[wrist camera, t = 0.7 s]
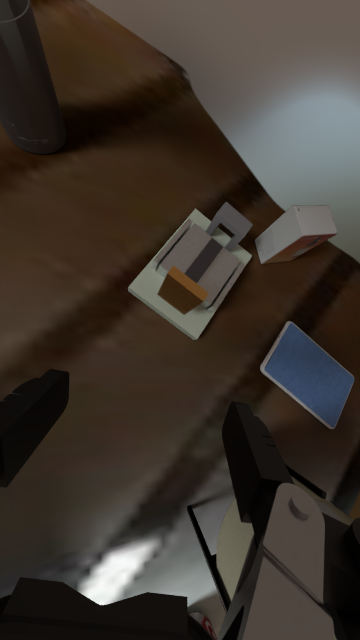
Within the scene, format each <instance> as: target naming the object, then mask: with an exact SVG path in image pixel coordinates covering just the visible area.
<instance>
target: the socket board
mask: <svg viewBox="0 0 360 640" xmlns="http://www.w3.org/2000/svg"><path fill="white" fill-rule="evenodd" d="M189 218H190V219H191V220H192V221H193V222H192V224H191V226H190V228H191V227H192V225H193V224H194V223H196V224H197V225H198V226H199V227H200V228H202V229H203V230H204V231H205V232H207V233H208V234H209V235H210V236H211V237H213V238H214V239H215V240H216V241H217V242H219V243H220V244H221V245H222V246H223V247H225V248H226V249H227V250H228V251H230V252H231V253H232V254H233V255H234V256H236V257H237V258H238V259H239V260H240V262H239V263H238V265H239V264H240V263H241V262H243V263H244V264H245V266H246V264H247V263H248V261H249V260H250V258H251V257H252V255H250V254H249V253H248V252H247V251H246V250H244V249H243V248H242V247H241V246H240V245H238V243H239V242H240V241H241V240H242V239H243V238H244V237H245V235H246V234H247V233H248V231H249V230H250V228H251V227H252V225H253V224H252V223H251V222H249V221H248V220H247V219H246V218H245V217H244V216H242V215H241V214H240V213H239V212H238V211H237V210H235V209H234V208H233V207H232V206H231V205H230V204H228V203H227V202H225V204H224V205H223V206H222V207H221V209H220V210H219V211H218V212H217V214H216V215H215V217H214V219H213V220H212V222H211V221H210V220H209V219H207V218H206V217H205V216H204V215H203V214H201V213H200V212H199V211H198V210H197V209H195V210H194V211H193V212H192V213H191V215H190V216H189V217H188V218H187V219H186V220H185V222H186V221H187V220H188V219H189ZM185 222H184V223H185ZM184 223H183V224H182V225H181V226H180V227H179V229H180V228H181V227H182V226H183V225H184ZM220 223H222V224H223V225H224V226H225V227H226V228H227V229H229V230H230V231H231V232H232V233H233V234H235V235H234V236H233V237H232V238H230V237H229V236H228V235H227V234H225V233H224V232H223V231H222V230H221V229H219V228H218V225H219V224H220ZM190 228H189V229H190ZM179 229H178V230H179ZM178 230H177V231H176V232H175V233H174V234H173V236H174V235H175V234H176V233H177V232H178ZM173 236H172V237H173ZM172 237H171V238H170V239H169V240H168V241H167V243H168V242H169V241H170V240H171V239H172ZM167 243H166V244H165V245H164V246H163V247H162V248H161V250H162V249H163V248H164V247H165V246H166V245H167ZM161 250H160V251H159V252H158V253H157V254H156V256H157V255H158V254H159V253H160V252H161ZM156 256H155V257H156ZM155 257H154V258H153V259H152V260H151V261H150V263H149V264H148V265H147V266H146V267H145V268H144V270H143V271H142V272H141V273H140V274H139V275H138V277H137V278H136V279H135V280H134V281H133V282H132V284H131V285H130V286H129V287H128V291H129V292H130V293H132V294H133V295H134V296H136V297H137V298H138V299H140V300H141V301H142V302H144V303H145V304H146V305H148V306H149V307H150V308H152V309H153V310H154V311H156V312H157V313H158V314H160V315H161V316H162V317H164V318H165V319H166V320H168V321H169V322H170V323H172V324H173V325H174V326H176V327H177V328H178V329H180V330H181V331H182V332H184V333H185V334H186V335H188V336H189V337H190V338H192V339H193V340H196V339H198V337H199V336H200V334H201V333H202V331H203V330H204V328H205V327H206V325H207V324H208V322H209V321H210V319H211V318H212V316H213V315H214V313H215V312H216V310H217V309H218V308H217V309H216V310H214V311H212V312H210V313H208V312H207V311H206V309H207V307H206V308H204V309H203V308H202V307H201V306H199V305H198V306H196V307H195V308H194V309H192V310H191V311H189V312H188V313H187V314H185V315H183V314H182V313H181V312H179V311H178V310H177V309H175V308H174V307H173V306H171V305H170V304H169V303H168V302H166V301H165V300H164V299H162V298H161V297H160V296H158V295H157V294H158V292H159V289H160V287H161V285H162V283H163V281H164V279H165V278H163V277H162V276H161V275H159V274H158V273H157V271H158V268H159V267H158V268H157V269H156V271H154V270H153V269H152V268H151V267H152V263H153V260H154V259H155ZM238 265H237V266H238ZM237 266H236V267H237ZM243 269H244V268H243ZM242 271H243V270H242ZM242 271H241V272H242ZM240 274H241V273H240ZM240 274H239V275H240ZM238 277H239V276H238ZM238 277H237V278H238ZM236 280H237V279H236ZM236 280H235V281H236ZM234 283H235V282H234ZM234 283H233V284H234ZM232 286H233V285H232ZM232 286H231V287H232ZM230 289H231V288H230ZM230 289H229V290H230ZM228 292H229V291H228ZM228 292H227V293H228ZM226 295H227V294H226ZM226 295H225V296H226ZM224 298H225V297H224ZM224 298H223V299H224ZM222 301H223V300H222ZM220 304H221V303H220ZM218 307H219V306H218Z"/></svg>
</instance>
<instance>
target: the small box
mask: <svg viewBox="0 0 360 640" xmlns="http://www.w3.org/2000/svg"><path fill="white" fill-rule="evenodd" d="M336 234H337V229H336V226H335V223H334V220H333V217H332V214H331V211H330V207H329V205H317V206H298V205H293V206H292V207H291V208H290V209H288V210H287V211H286V212H285V213H284V214H283V215H282V216H281V217H280V218H278V219H277V220H276V221H275V222H274V223H273V224H272V225H271V226H270V227H268V228H267V229H266V230H265V231H264V232H263V233H262V234H261V235H260V236H259V237H257V238H256V239H255V244H256V248H257V251H258V255H259V258H260V262H261V264H266V263H275V262H285V261H291V260H293V259H294V258H296V257H298V256H300V255H301V254H303V253H305V252H307V251H308V250H310V249H312V248H314V247H315V246H317V245H319V244H321V243H322V242H324V241H326V240H328V239H329V238H331V237H333V236H335V235H336Z"/></svg>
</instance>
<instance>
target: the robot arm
mask: <svg viewBox="0 0 360 640" xmlns="http://www.w3.org/2000/svg"><path fill="white" fill-rule="evenodd" d="M0 122H1V124H2V126H3V128H4V130H5V131H6V133H7V135H8V137H9V138H10V140H11V141H12V142H13V143H14V144H16V145H17V146H18V147H20V148H22V149H24V150H26V151H29V152H32V153H37V154H47V153H52V152H55V151H57V150H59V149H60V148H61V147H62V146H63V145H64V144H65V142H66V138H67V133H66V129H65V125H64V121H63V118H62V114H61V111H60V107H59V103H58V100H57V96H56V92H55V89H54V85H53V82H52V78H51V75H50V71H49V67H48V64H47V60H46V57H45V53H44V49H43V46H42V42H41V39H40V35H39V32H38V28H37V24H36V21H35V17H34V14H33V10H32V7H31V3H30V0H0ZM68 399H69V373H68V372H65V371H60V370H54V369H50V370H48V371H47V372H46V373H45V374H44V375H43V376H42V377H40V378H39V379H38V378H34V379H32V380H29V381H27V382H25V383H23V384H21V385H20V386H19V387H18V388H16V389H15V390H14V391H13V392H11V394H9V395H8V396H6V397H5V398H4V399H3V400H2V402H0V487H5V488H7V486H8V485H9V484H10V482H11V481H12V480H13V478H14V477H15V476H16V474H17V473H18V472H19V470H20V469H21V468H22V466H23V465H24V464H25V462H26V461H27V460H28V458H29V457H30V456H31V454H32V453H33V452H34V450H35V449H36V448H37V446H38V445H39V444H40V442H41V441H42V440H43V438H44V437H45V436H46V434H47V433H48V432H49V430H50V429H51V428H52V426H53V425H54V424H55V422H56V421H57V420H58V418H59V417H60V416H61V414H62V413H63V412H64V410H65V408H66V406H67V403H68ZM222 439H223V443H224V448H225V452H226V457H227V461H228V466H229V470H230V475H231V479H232V484H233V489H234V493H235V498H236V502H237V507H238V511H239V516H240V520H241V522H243V523H251V524H252V527H253V531H254V535H253V537H252V539H251V542H250V545H249V549H248V552H247V555H246V558H245V561H244V564H243V568H242V571H241V574H240V577H239V580H238V583H237V587H236V590H235V593H234V596H233V599H232V602H231V604H230V607H229V609H228V612H227V614H226V616H225V619H224V622H223V624H222V627H221V630H220V633H219V636H218V639H217V640H334V634H335V636H336V639H337V640H360V518H356V519H355V520H354V521H353V522H352V523H351V525H350V526H349V525H347V524H345V523H343V522H341V521H339V520H337V519H335V518H333V517H331V516H329V515H326V514H324V513H323V512H321V511H320V509H319V507H318V506H317V504H316V503H315V501H314V500H313V499H312V498H311V497H310V496H309V495H308V494H307V493H306V492H305V491H304V490H302V489H301V488H299V487H298V486H296V485H295V484H294V482H293V480H292V478H291V475H290V473H289V471H288V469H287V467H286V465H285V463H284V461H283V459H282V457H281V455H280V453H279V451H278V449H277V448H276V445H275V443H274V441H273V439H271V435H270V433H269V431H268V429H267V427H266V425H265V424H264V423H263V422H262V421H261V420H260V419H259V418H258V417H256V416H253V413H252V411H251V409H250V407H249V405H248V404H245V403H239V402H234V401H232V402H231V404H230V406H229V409H228V412H227V415H226V418H225V421H224V424H223V428H222ZM0 640H214V639H213V637H212V636H211V635H210V633H209V632H208V631H207V630H206V629H205V628H204V627H203V626H202V625H201V624H200V623H199V622H198V621H197V620H195V619H194V618H193V617H192V616H190V615H189V614H187V597H183V596H175V595H166V594H158V593H149V592H147V593H144V594H140V595H137V596H134V597H131V598H127V599H124V600H121V601H117V602H114V603H111V604H108V605H99V604H97V603H95V602H93V601H92V600H90V599H89V598H87V597H85V596H84V595H82V594H81V593H79V592H77V591H76V590H74V589H73V588H71V587H69V586H68V585H66V584H65V583H63V582H56V581H48V580H39V579H31V578H22V577H20V579H19V581H18V583H17V585H16V587H15V589H14V591H13V593H12V595H8V596H5V597H3V598H0Z"/></svg>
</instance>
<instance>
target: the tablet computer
mask: <svg viewBox="0 0 360 640" xmlns="http://www.w3.org/2000/svg"><path fill="white" fill-rule="evenodd" d="M260 370H261V372H262V373H263V374H264V375H266V376H267V377H268V378H269V379H270V380H272V381H273V382H274V383H275V384H277V385H278V386H279V387H280V388H281V389H283V390H284V391H285V392H286V393H287V394H289V395H290V396H291V397H292V398H293V399H295V400H296V401H297V402H298V403H299V404H300V405H302V406H303V407H304V408H305V409H306V410H308V411H309V412H310V413H311V414H312V415H313V416H315V417H316V418H317V419H318V420H319V421H321V422H322V423H323V424H324V425H325V426H326V427H328V428H329V429H334V428H335V427H336V424H337V422H338V419H339V417H340V414H341V412H342V409H343V407H344V405H345V402H346V400H347V397H348V395H349V392H350V390H351V387H352V385H353V383H354V377H353V375H352V374H351V373H349V372H348V371H347V370H346V369H345V368H344V367H343V366H341V365H340V364H339V363H338V362H337V361H336V360H335V359H334V358H332V357H331V356H330V355H329V354H328V353H327V352H326V351H324V350H323V349H322V348H321V347H320V346H319V345H318V344H317V343H315V342H314V341H313V340H312V339H311V338H310V337H309V336H307V335H306V334H305V333H304V332H303V331H302V330H301V329H300V328H298V327H297V326H296V325H295V324H294V323H293V322H290V321H288V322H287V323H286V324H285V326H284V328H283V329H282V331H281V333H280V334H279V336H278V338H277V339H276V341H275V343H274V344H273V346H272V348H271V349H270V351H269V353H268V355H267V356H266V358H265V359H264V361H263V363H262V364H261V367H260Z"/></svg>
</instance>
